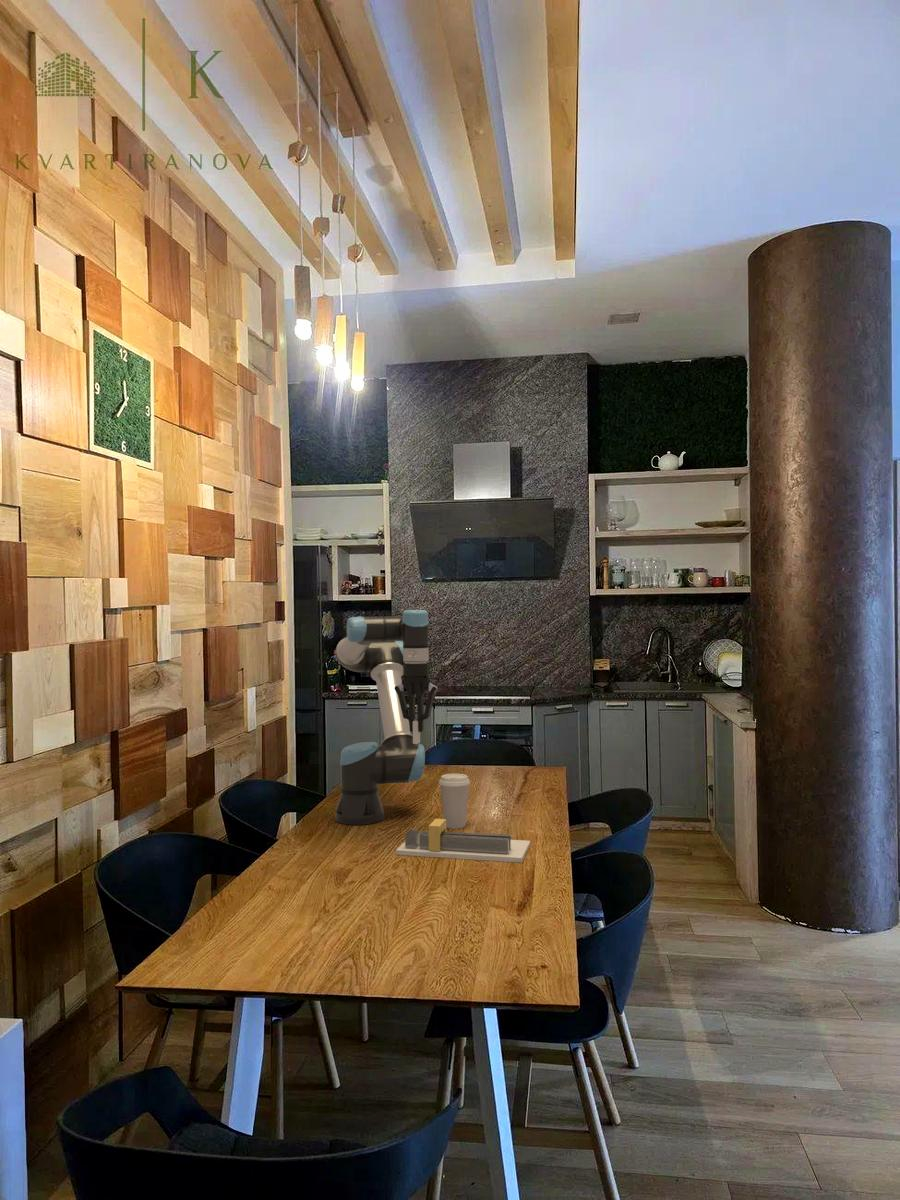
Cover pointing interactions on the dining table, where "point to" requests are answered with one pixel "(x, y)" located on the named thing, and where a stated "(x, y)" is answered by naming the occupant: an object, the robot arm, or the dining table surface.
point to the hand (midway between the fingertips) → (416, 742)
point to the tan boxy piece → (436, 833)
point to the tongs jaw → (478, 835)
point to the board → (471, 853)
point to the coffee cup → (454, 799)
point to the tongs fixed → (459, 842)
